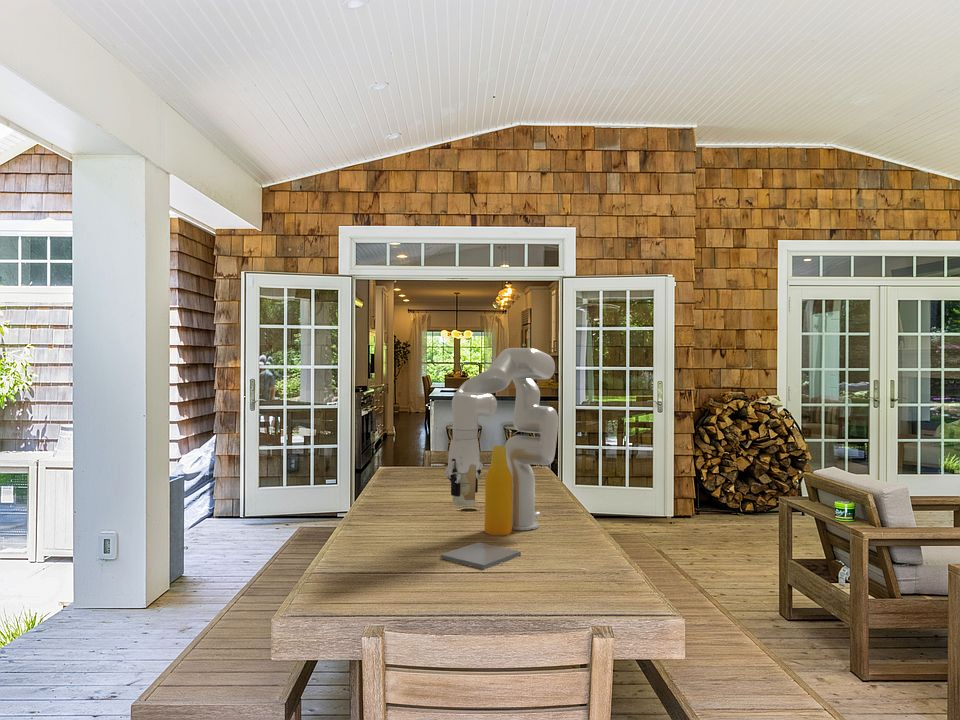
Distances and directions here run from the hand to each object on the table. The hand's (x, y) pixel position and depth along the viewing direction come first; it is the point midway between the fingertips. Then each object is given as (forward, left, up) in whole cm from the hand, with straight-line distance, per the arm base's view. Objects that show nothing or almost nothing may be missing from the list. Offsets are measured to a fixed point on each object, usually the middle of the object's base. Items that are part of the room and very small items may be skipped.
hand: (464, 493), depth 212 cm
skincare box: (0, 0, -4) cm, 4 cm away
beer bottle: (-26, -6, -18) cm, 33 cm away
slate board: (+1, +7, -18) cm, 19 cm away
